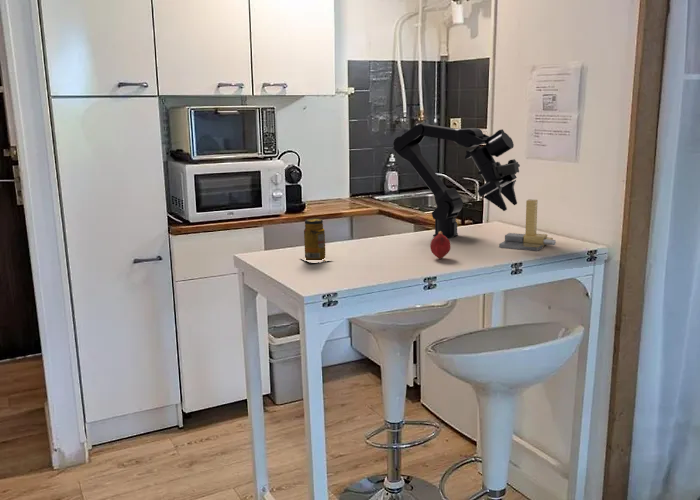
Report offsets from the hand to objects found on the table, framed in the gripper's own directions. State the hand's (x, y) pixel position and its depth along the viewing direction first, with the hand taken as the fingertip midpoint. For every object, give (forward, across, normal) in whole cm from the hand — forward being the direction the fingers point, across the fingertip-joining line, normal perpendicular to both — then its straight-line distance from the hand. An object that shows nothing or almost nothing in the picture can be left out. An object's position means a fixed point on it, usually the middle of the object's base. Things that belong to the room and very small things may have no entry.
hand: (510, 207), depth 207 cm
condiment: (-14, -48, +41) cm, 64 cm away
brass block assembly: (+12, +1, +1) cm, 13 cm away
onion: (+3, -30, +14) cm, 33 cm away
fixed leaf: (+13, -4, 0) cm, 14 cm away
